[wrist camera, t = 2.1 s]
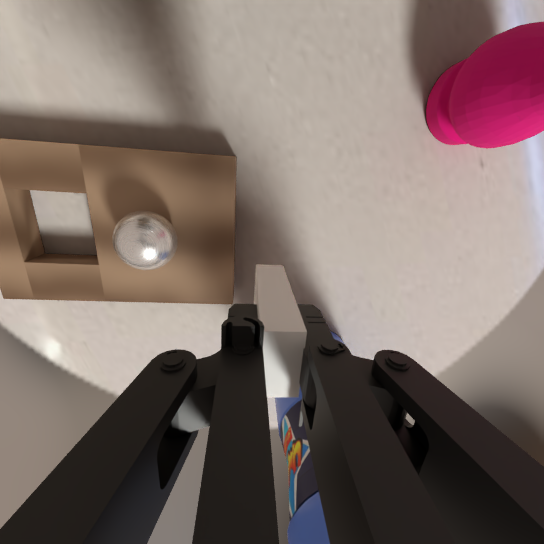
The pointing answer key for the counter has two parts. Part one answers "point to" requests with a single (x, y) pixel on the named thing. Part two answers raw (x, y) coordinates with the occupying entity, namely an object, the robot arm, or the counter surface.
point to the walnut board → (109, 211)
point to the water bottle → (300, 475)
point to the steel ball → (144, 240)
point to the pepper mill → (492, 92)
